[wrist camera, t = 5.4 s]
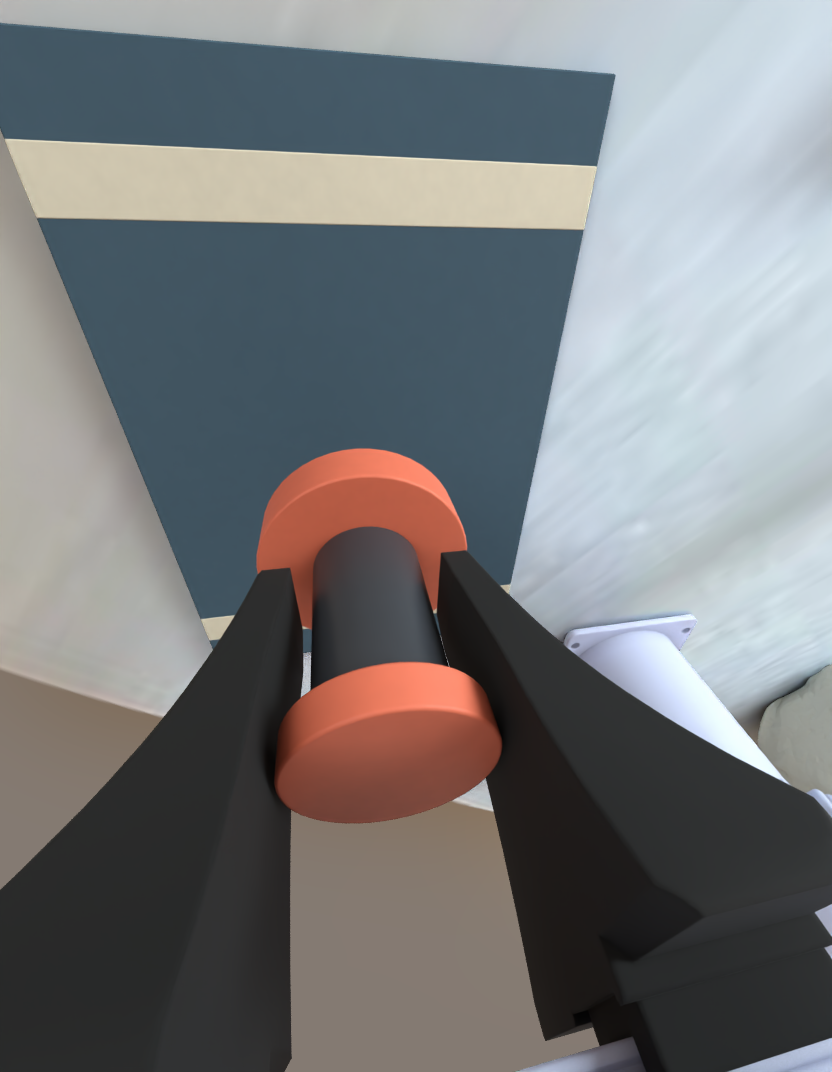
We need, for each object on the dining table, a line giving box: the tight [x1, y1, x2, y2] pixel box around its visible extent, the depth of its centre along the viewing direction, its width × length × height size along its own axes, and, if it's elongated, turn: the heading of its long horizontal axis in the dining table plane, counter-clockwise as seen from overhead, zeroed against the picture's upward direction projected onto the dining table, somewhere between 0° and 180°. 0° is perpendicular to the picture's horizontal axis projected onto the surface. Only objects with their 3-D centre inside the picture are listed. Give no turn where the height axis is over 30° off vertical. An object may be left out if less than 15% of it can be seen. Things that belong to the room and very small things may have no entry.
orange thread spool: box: [257, 449, 502, 823], centre depth 9 cm, size 5×5×6 cm
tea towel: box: [0, 23, 615, 653], centre depth 15 cm, size 20×14×1 cm
